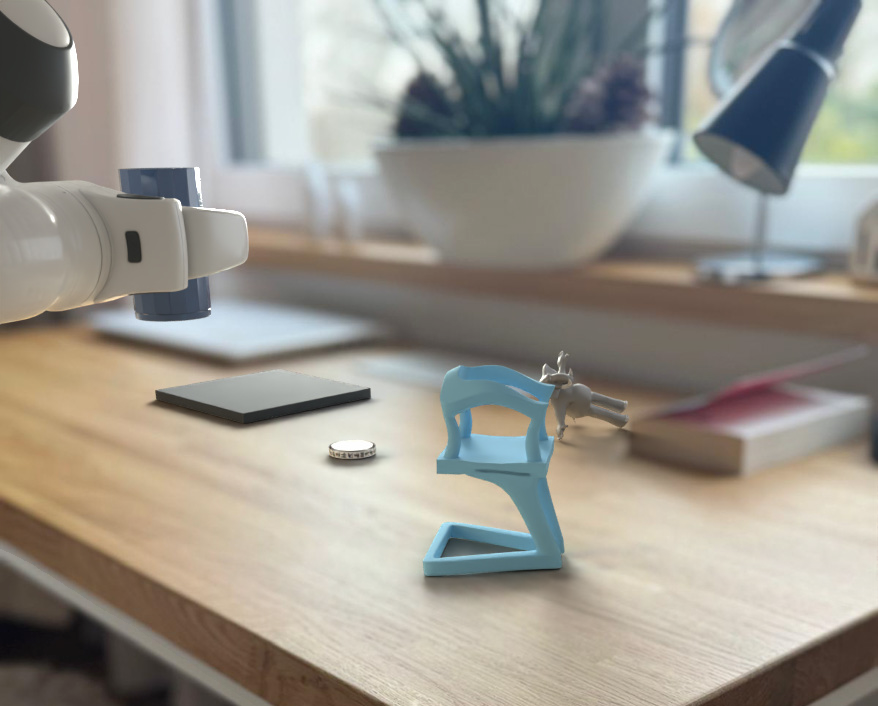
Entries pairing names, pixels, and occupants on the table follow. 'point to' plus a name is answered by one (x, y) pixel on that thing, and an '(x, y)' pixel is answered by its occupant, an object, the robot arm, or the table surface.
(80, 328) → the table surface
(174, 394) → the mat
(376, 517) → the table surface
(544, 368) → the grey figurine
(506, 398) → the chair
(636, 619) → the table surface
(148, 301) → the cup
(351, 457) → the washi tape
